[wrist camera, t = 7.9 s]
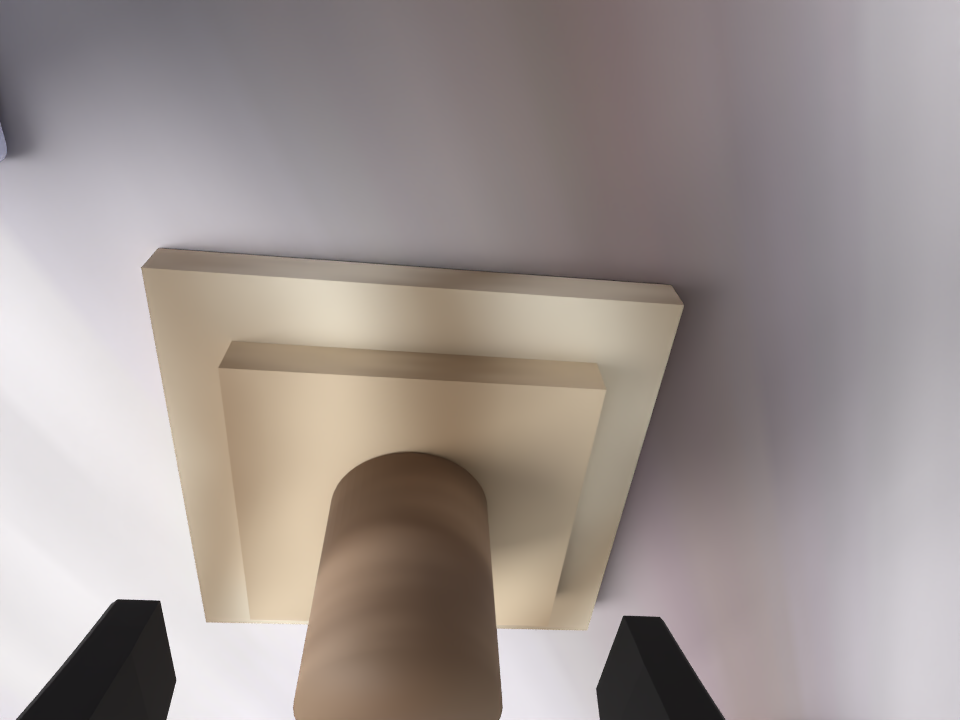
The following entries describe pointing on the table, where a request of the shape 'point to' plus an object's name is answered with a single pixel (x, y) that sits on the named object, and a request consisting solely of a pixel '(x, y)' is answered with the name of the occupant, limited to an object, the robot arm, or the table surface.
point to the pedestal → (402, 413)
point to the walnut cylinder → (403, 599)
